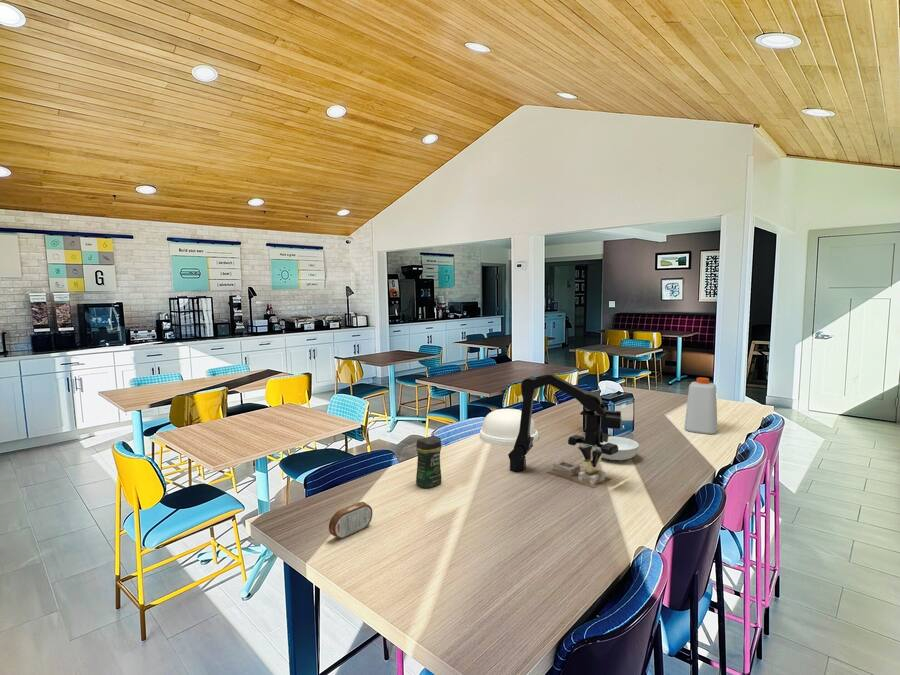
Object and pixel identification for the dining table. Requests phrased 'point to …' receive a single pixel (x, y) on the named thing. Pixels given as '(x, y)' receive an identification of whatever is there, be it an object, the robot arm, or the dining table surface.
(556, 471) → the board
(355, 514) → the tin
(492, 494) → the dining table surface
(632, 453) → the serving bowl
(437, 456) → the coffee jar
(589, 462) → the gold rectangular bar
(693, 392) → the plastic bottle
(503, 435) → the dome cover
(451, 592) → the dining table surface
